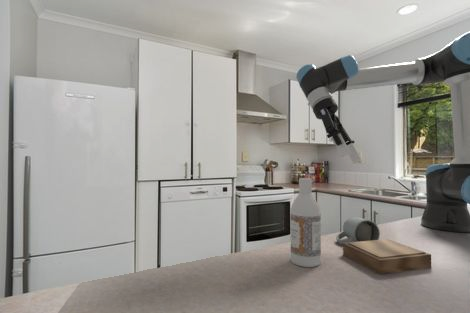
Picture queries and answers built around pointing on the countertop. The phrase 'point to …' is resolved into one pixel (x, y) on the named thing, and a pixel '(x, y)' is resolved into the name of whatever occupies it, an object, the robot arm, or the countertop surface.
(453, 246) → the countertop surface
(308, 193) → the bath foam
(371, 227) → the ceramic mug
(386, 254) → the walnut base
